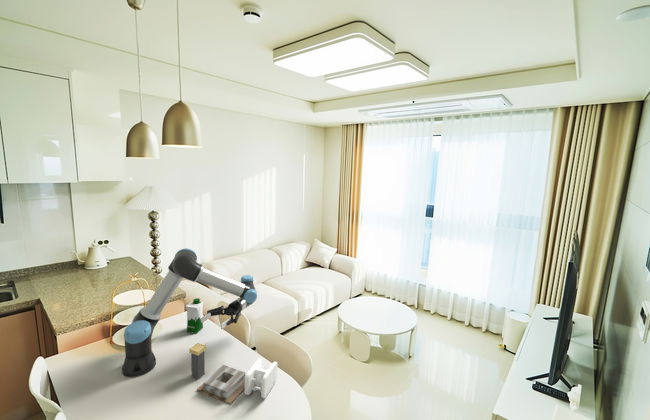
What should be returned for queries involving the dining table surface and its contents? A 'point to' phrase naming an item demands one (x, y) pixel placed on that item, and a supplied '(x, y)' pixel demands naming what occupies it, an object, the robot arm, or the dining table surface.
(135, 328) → the robot arm
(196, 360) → the plug
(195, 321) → the milk carton
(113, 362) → the dining table surface
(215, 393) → the socket
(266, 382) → the cable organizer
